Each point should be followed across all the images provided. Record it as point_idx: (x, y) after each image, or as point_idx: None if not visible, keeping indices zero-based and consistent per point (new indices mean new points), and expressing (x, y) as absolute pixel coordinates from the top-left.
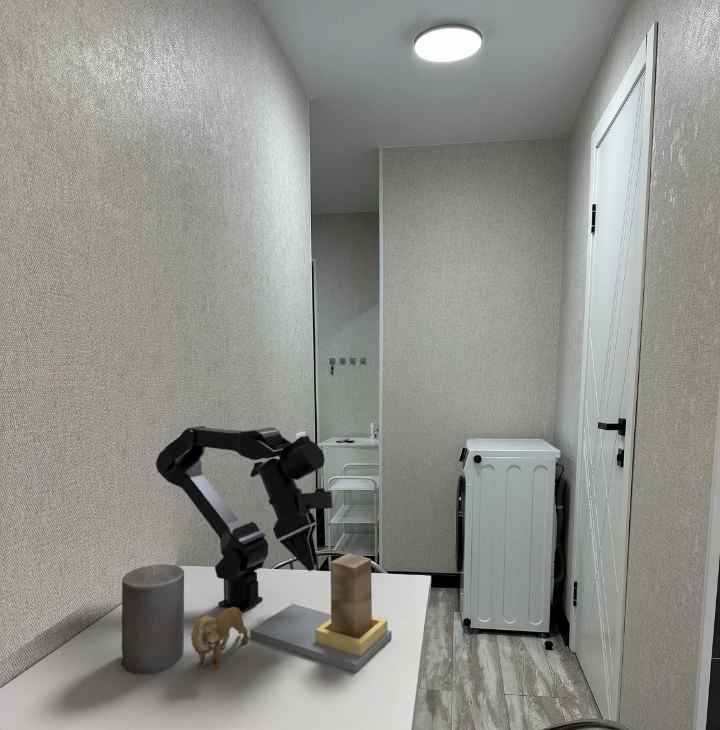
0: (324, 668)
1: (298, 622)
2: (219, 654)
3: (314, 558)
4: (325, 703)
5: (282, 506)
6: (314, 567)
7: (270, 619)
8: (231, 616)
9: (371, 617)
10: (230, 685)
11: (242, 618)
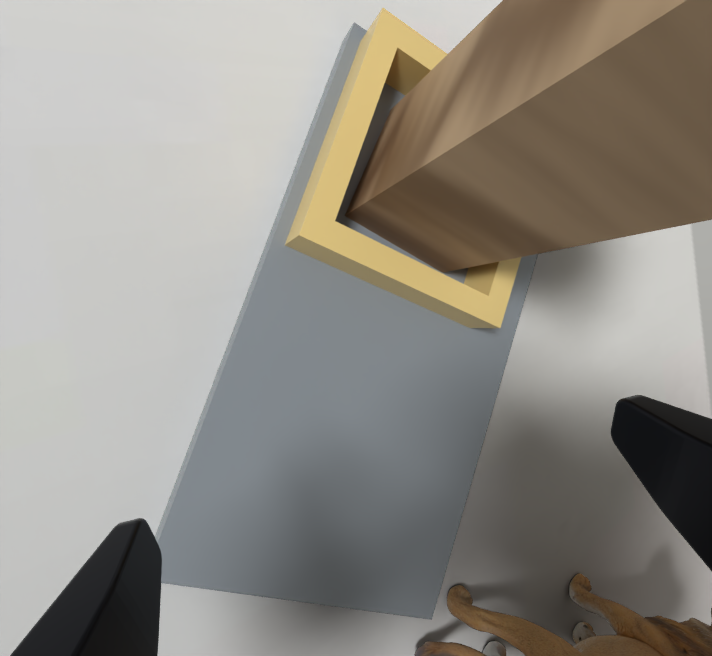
0: (539, 270)
1: (345, 451)
2: (603, 600)
3: (136, 586)
4: (647, 237)
5: None
6: (638, 397)
7: (339, 590)
8: None
9: (429, 74)
10: (627, 496)
11: (544, 654)
